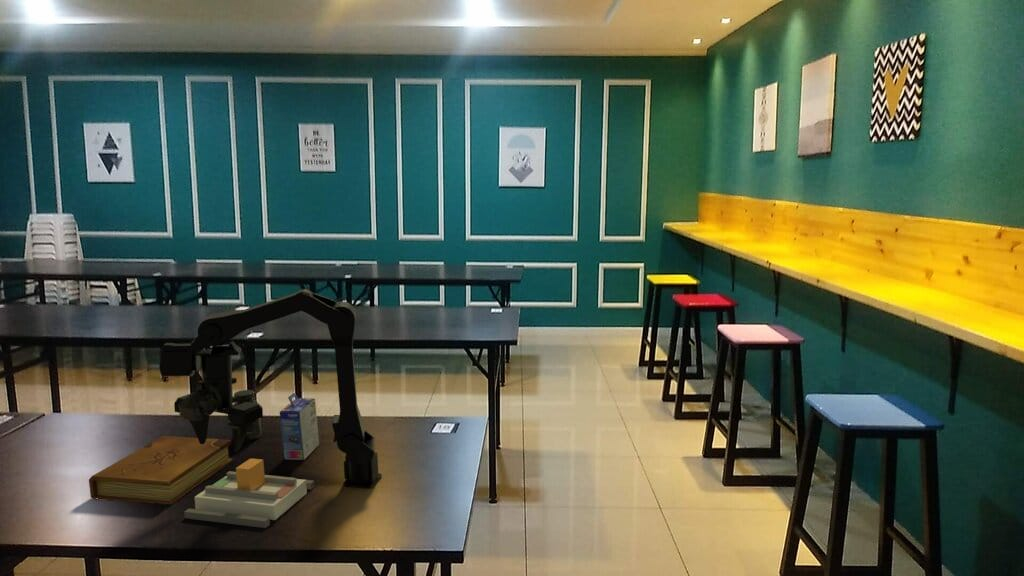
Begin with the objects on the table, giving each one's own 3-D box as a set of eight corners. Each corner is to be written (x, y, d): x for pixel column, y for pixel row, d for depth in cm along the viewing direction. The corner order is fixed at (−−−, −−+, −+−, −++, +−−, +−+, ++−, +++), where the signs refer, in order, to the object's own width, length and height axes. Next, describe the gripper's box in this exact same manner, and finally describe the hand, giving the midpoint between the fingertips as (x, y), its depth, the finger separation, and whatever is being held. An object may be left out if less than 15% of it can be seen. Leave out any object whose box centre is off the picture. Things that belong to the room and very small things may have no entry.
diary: (162, 458, 171) (160, 435, 170) (233, 462, 168) (231, 439, 167) (90, 500, 149) (88, 474, 148) (171, 506, 146) (168, 480, 145)
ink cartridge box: (298, 444, 177) (294, 388, 175) (319, 444, 177) (316, 389, 174) (282, 460, 168) (277, 401, 165) (304, 460, 167) (300, 401, 165)
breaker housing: (306, 493, 150) (305, 474, 149) (275, 520, 138) (273, 500, 138) (232, 485, 154) (231, 467, 153) (195, 510, 143) (194, 491, 142)
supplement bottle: (232, 435, 184) (228, 390, 182) (260, 430, 187) (256, 387, 185) (234, 444, 178) (230, 398, 176) (262, 439, 181) (259, 394, 179)
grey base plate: (314, 486, 153) (314, 480, 153) (265, 528, 135) (265, 521, 135) (241, 479, 157) (241, 473, 157) (184, 518, 140) (184, 511, 139)
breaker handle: (264, 482, 148) (263, 459, 147) (250, 492, 143) (248, 469, 142) (252, 480, 148) (250, 458, 148) (237, 491, 144) (235, 468, 143)
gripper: (150, 379, 142) (154, 453, 144) (223, 391, 135) (226, 469, 138) (194, 366, 152) (196, 435, 155) (263, 377, 145) (265, 449, 148)
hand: (219, 447), depth 148 cm, fingers open, 9 cm apart
